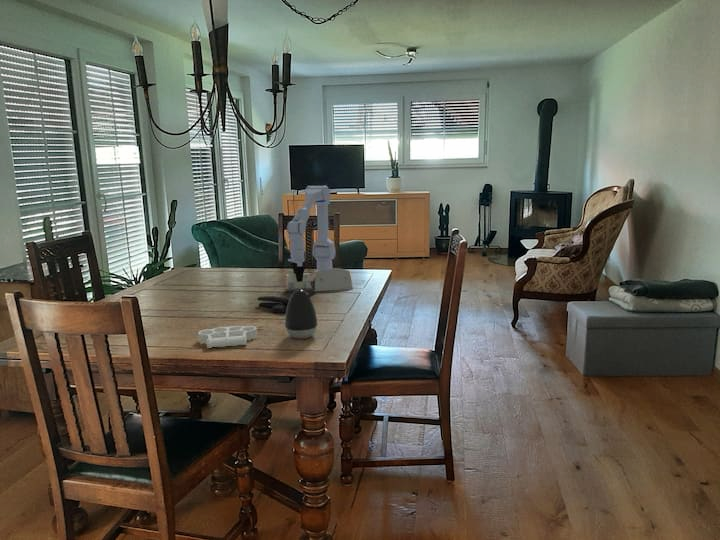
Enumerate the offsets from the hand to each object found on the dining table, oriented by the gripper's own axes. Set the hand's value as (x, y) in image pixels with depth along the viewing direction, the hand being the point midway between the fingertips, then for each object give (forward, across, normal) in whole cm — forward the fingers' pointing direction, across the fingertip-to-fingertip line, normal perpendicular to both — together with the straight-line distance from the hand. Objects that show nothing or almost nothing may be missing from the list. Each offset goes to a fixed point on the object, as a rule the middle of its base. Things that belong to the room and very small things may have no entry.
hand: (298, 280), depth 236 cm
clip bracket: (+4, 0, 0) cm, 4 cm away
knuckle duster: (+5, +62, -30) cm, 69 cm away
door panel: (+3, 0, 0) cm, 3 cm away
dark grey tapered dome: (+5, +65, -7) cm, 66 cm away
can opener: (+5, +28, -13) cm, 31 cm away
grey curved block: (+5, +2, +15) cm, 16 cm away
